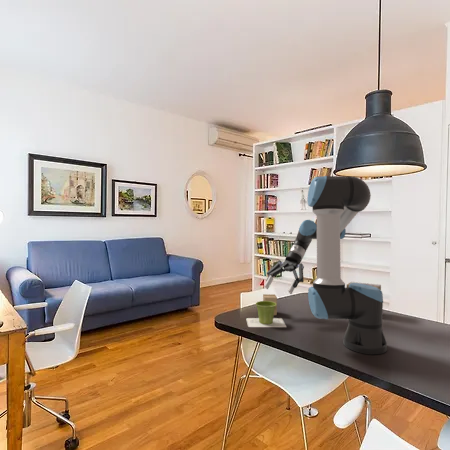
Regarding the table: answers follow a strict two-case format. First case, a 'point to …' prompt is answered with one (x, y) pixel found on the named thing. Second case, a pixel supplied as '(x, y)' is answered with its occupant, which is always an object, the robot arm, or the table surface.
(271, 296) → the oak block
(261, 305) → the plant pot
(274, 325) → the letter
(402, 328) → the table surface
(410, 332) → the table surface
